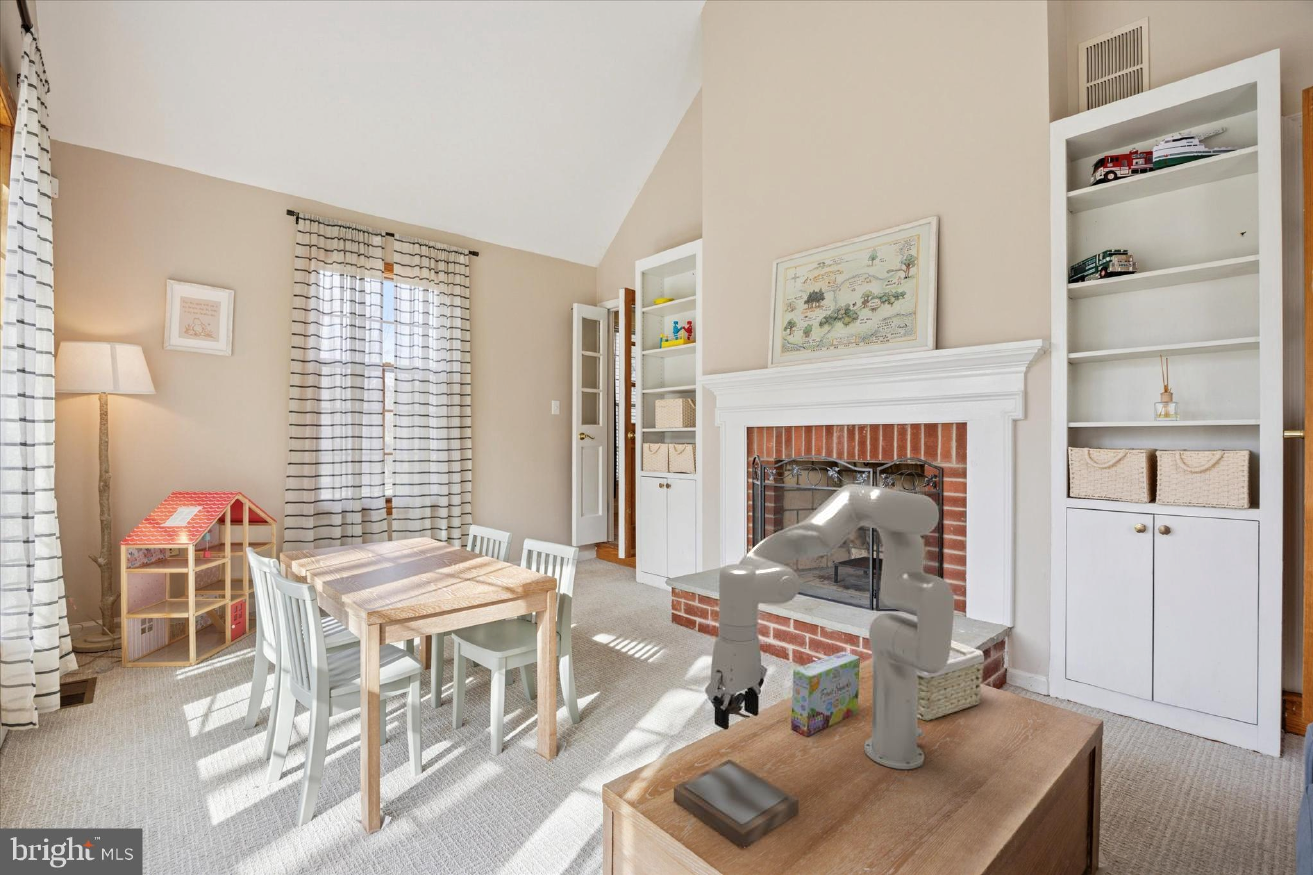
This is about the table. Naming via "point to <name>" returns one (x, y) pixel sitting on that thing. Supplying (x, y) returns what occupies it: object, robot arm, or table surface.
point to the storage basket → (951, 684)
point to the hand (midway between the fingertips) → (736, 719)
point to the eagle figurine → (735, 704)
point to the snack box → (825, 692)
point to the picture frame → (736, 802)
